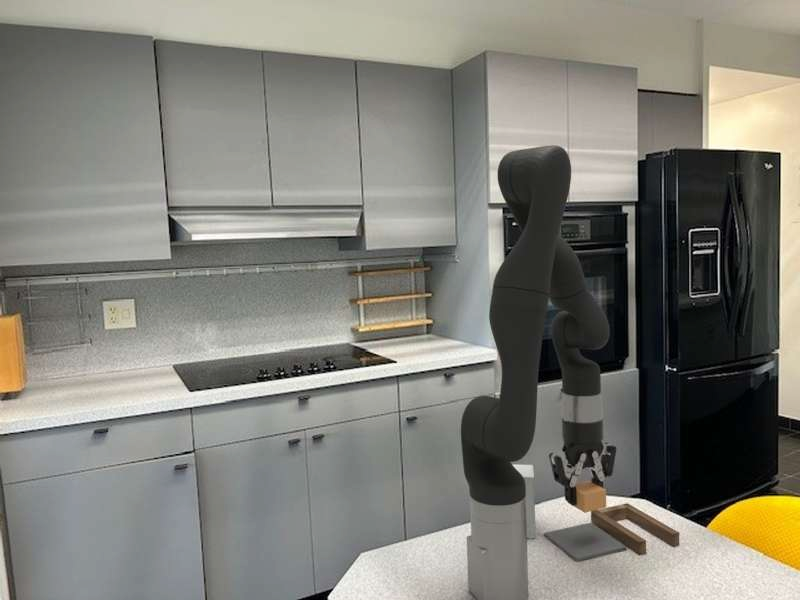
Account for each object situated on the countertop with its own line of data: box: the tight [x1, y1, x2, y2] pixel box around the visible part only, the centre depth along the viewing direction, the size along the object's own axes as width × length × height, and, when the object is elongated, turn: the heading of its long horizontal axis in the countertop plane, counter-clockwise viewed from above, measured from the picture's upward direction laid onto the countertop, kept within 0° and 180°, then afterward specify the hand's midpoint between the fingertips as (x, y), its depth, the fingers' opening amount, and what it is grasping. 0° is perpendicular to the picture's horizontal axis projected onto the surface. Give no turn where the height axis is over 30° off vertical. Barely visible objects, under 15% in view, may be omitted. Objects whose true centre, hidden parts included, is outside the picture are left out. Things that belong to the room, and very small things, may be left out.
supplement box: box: [511, 463, 536, 539], centre depth 124 cm, size 7×7×13 cm
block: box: [573, 480, 607, 514], centre depth 117 cm, size 5×5×4 cm
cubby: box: [590, 502, 680, 556], centre depth 121 cm, size 9×14×2 cm, turn 19°
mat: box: [543, 522, 628, 562], centre depth 118 cm, size 11×11×1 cm
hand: (584, 500), depth 118 cm, fingers closed on block, 5 cm apart
